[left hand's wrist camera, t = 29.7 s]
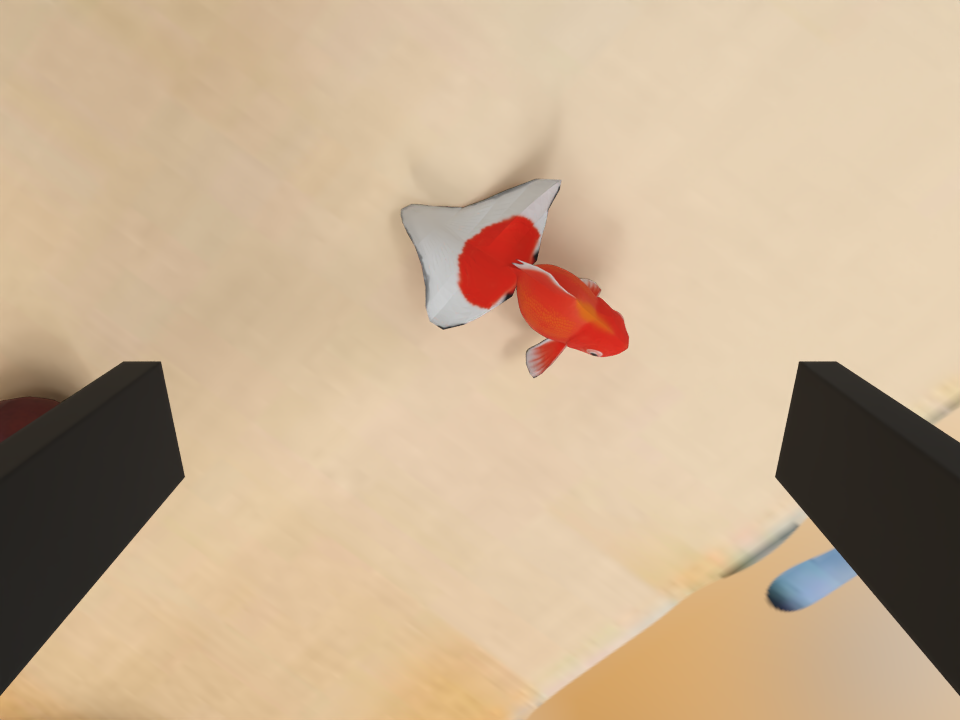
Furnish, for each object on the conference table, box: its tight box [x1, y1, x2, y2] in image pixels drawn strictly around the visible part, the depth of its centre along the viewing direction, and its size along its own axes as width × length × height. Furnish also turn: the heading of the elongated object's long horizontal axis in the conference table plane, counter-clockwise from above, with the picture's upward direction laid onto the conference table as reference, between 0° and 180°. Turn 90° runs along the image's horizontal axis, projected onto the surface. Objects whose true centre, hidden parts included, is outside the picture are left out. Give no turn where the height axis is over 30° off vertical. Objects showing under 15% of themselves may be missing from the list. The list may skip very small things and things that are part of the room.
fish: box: [401, 179, 629, 378], centre depth 37 cm, size 11×16×10 cm
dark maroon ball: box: [0, 397, 60, 443], centre depth 42 cm, size 7×8×7 cm
